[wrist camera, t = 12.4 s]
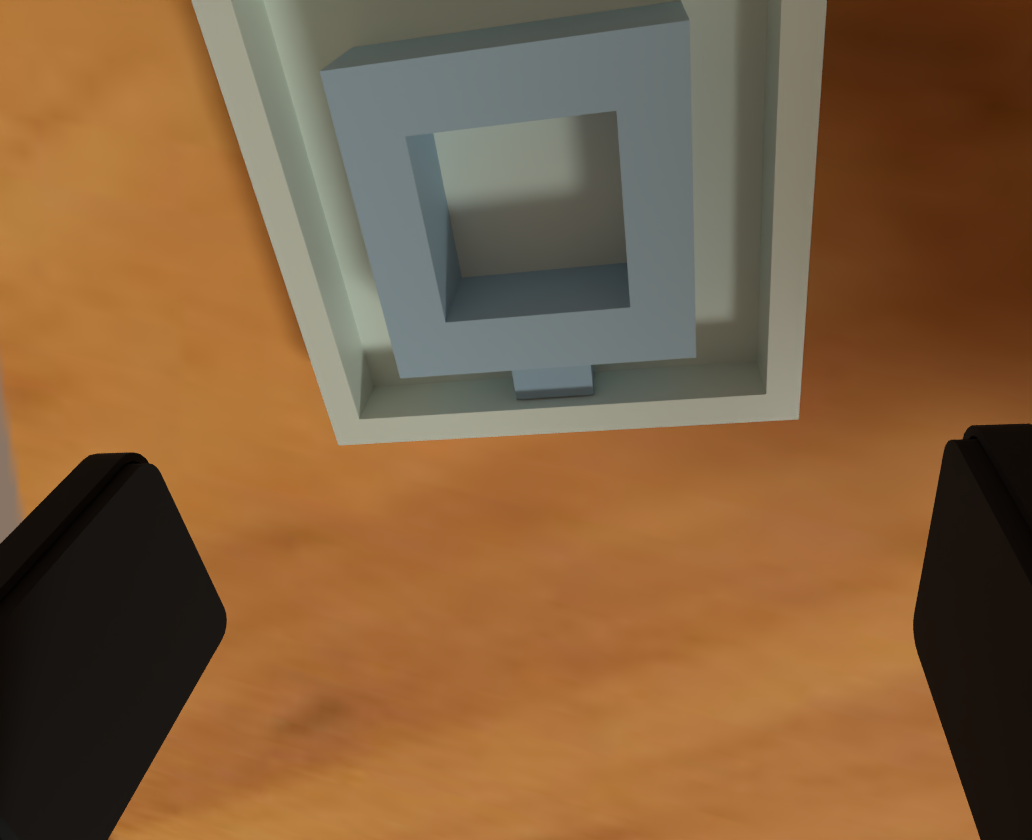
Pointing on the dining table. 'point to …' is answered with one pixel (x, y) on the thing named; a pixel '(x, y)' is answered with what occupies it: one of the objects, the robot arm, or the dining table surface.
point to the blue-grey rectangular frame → (513, 99)
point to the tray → (540, 211)
